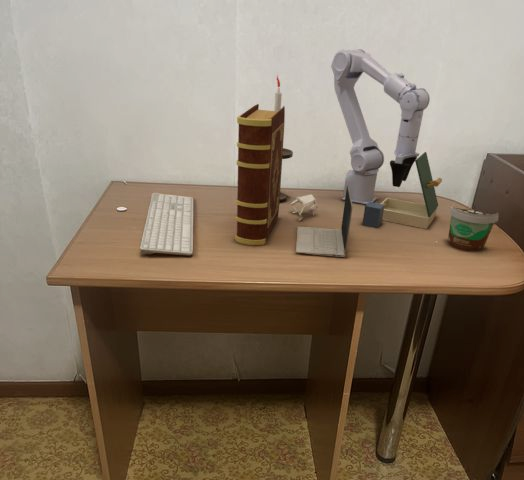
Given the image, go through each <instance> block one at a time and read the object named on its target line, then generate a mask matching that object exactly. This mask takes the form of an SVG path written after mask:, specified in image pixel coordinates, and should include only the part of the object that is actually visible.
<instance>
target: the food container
mask: <svg viewBox="0 0 524 480" xmlns="http://www.w3.org/2000/svg"><path fill="white" fill-rule="evenodd" d="M454 205H455V203H453V204H452V205H451V207H450V209H449V212H448V213H449V215H450V221H449V222H450V223H449V230H448V237H447V244H448V245H449V246H450V247H452V248H454V249H457V250H461V251H465V252H479V251H482V250H483V249H484V248H485V246H486V243H487V241H488V238H489V236H490V234H491V232H492V229H493V227H494V224H495V223H497V222H498V221H499V212H496V213H493V214H492V213H486V212H483V211H480V210H476V209H467V208H459V207H455V206H454Z"/></svg>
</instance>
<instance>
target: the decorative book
mask: <svg viewBox="0 0 524 480" xmlns="http://www.w3.org/2000/svg"><path fill="white" fill-rule="evenodd" d="M259 105H260V104H259V103H257V104H255V105H253V106H252V107H250V108H248V109H247V110H246V111H245V112H243V113H242V114H240V115H238V116H237V117H236V123H237V124H238V135H237V136H238V137H237V138H238V139H237V142H236V147H237V160H236V165H237V193H236V194H237V197H236V199H235V205H236V216H235V221H236V234H235V236H234V238H235V239H234V240H235V242H237V243H239V244H242V245H246V246H263V245H265V244H266V242H267V240H268V238H269V237H270V235H271V233H272V231H273V229H274V228H275V226H276V224H277V221H278V218H279V214H280V213H279V212H280V203H281V202H280V192H281V186H282V185H281V184H282V170H283V169H282V168H283V159H282V155H283V148H284V139H285V136H284V135H285V119H286V118H285V117H286V116H285V115H286V113H285V112H286V109H285V108H286V107H285V105H283V106H281V110H279V111H274V110H267V109H266V110H265V109H260V108H259V107H260V106H259Z"/></svg>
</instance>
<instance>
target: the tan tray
mask: <svg viewBox="0 0 524 480" xmlns="http://www.w3.org/2000/svg"><path fill="white" fill-rule="evenodd" d="M380 204H384V205H385V206H384V212H383V218H382V221H384V222H390V223H395V224H399V225H404V226H410V227H415V228H420V229H425V230H427V229H428V228H429V226H430V225H431V224H432V222H433V221H434V219H435V218H436V214H437V210H438V207H437V208H436V209H435V211H434V212H433V214H432V215H431V216H430V217H428V213H427V209H426V205H425V203H419V202H414V201H408V200H403V199H398V198H391V197H386V198H384V200H383V201H382V202H380Z"/></svg>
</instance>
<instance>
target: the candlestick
mask: <svg viewBox="0 0 524 480" xmlns="http://www.w3.org/2000/svg"><path fill="white" fill-rule="evenodd" d="M276 84H277V90H276V92H274V107H273V111H279V110H281V109H282V97H283V96H282V95H283V94H282V92H281V81H280V79H279V74H278V75H277V76H276ZM293 156H294V152H293V150H291V149H289V148H284V147H283V155H282V160H288V159H291V158H292V157H293ZM287 200H288V195H287V194H286V193H284V192H282V191H280V203H283V202H286V201H287Z"/></svg>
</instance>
